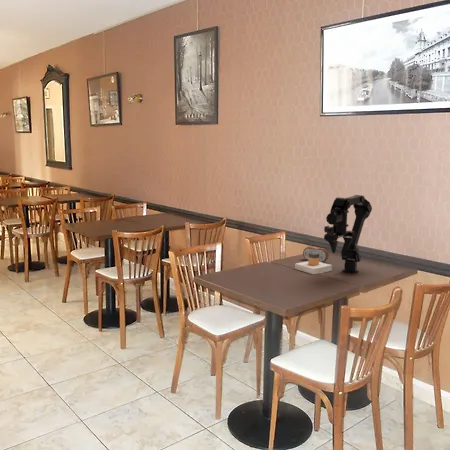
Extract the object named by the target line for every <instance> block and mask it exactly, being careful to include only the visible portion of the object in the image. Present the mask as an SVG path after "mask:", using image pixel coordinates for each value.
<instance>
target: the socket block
mask: <svg viewBox="0 0 450 450" xmlns="http://www.w3.org/2000/svg"><path fill="white" fill-rule="evenodd" d="M294 269H295V270H298V271H300V272H304V273H307V274H310V275H318V274H322V273H328V272H332V270H333V265H332V264H329V263H326V262H319V265H317V266H311V265H308V260H306V261H300V262H297V263H295V264H294Z"/></svg>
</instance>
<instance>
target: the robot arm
mask: <svg viewBox="0 0 450 450" xmlns="http://www.w3.org/2000/svg"><path fill="white" fill-rule="evenodd" d="M351 206H353V209H354V214H355V219H354V222H353V226H352V230H347V227H349V224H348V214H349V213H350V212H349V209H351ZM372 207H373V206H372V204H371V202H370V201H369V200H367V199H366V198H365V196H364V195H360V194H354V195H352V196H348V197H335V199H334V200H333V203H332V205H331V208H330V212H329V213H328V214H327V215H326V217H325V219H326V222H327V224H329V225H326V226H324V228H323V229H324V230H323V231H324V233H325V234H324V236H323V239H324V240H325V241H326V242H328V243H329V246H330V249H331V253H332V254H335V253H336V251H337V247H338V243H339V241H338V239H340V238H342V239H343V241H344V242H343V245H342V249H341V250H340V253H341V254H340V256H341V260H342V261H344V268H343V269H342V271H341V272H345V273H348V274H354V273H355V274H356V273H359V271H360V270H357V268H358V263H360V261H362V260H361V258H362V257H361V255H360V249H359V245H358V244H359V240H360V237H361V233H362V231H363V227H364V223H365V221H366V219H368V218H369V217H370V215H371V212H372V210H373V208H372ZM330 225H331V226H330Z"/></svg>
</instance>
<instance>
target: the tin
mask: <svg viewBox="0 0 450 450" xmlns="http://www.w3.org/2000/svg"><path fill="white" fill-rule="evenodd" d="M309 253H317V254H319V262H322V263H325V262H326V261H327V260H328V259H329V252H328V251H327V250H326V249H325V248H323V247H317V246H307V247H306V248H304V249H303V252H302V255H303V257H304V259H305V260H306V261H308V260H309Z"/></svg>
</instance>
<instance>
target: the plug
mask: <svg viewBox="0 0 450 450" xmlns="http://www.w3.org/2000/svg"><path fill="white" fill-rule="evenodd" d="M307 261H308V265H311V266H317V265H319V254H317V253H309V260H307Z"/></svg>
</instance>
